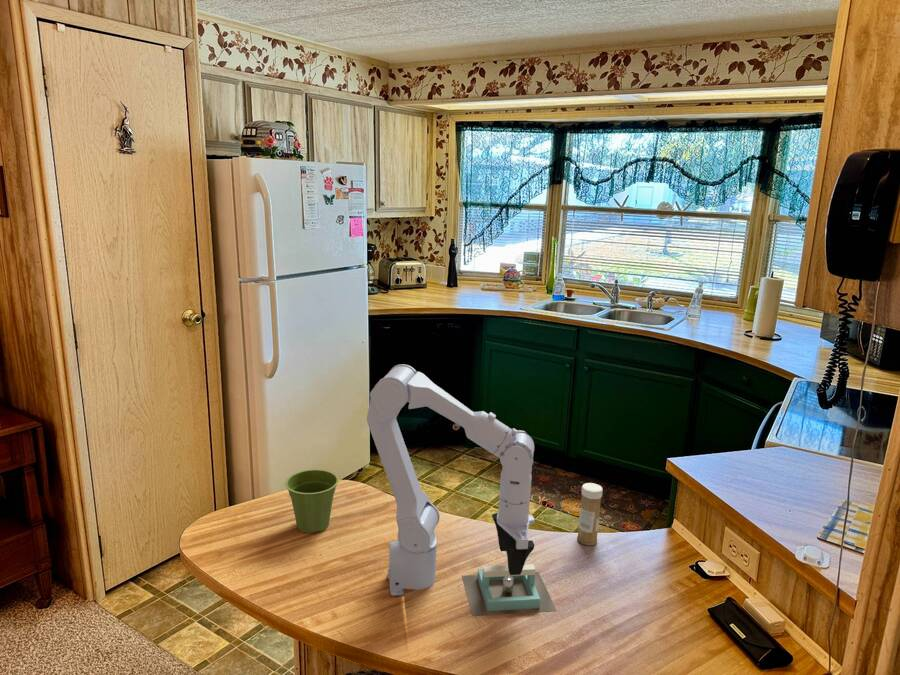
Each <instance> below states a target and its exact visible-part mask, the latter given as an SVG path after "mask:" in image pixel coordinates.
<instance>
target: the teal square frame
mask: <svg viewBox="0 0 900 675" xmlns="http://www.w3.org/2000/svg"><path fill="white" fill-rule="evenodd" d="M535 572H536V566H535V564H531V563H530V564H524V567H523V570H522V572H521V574H520V575H510V573H509V570H508V565H493V566H491V565H490V566H482V568H480V569H479V568H478V569H477V574H476V575H477V579H478V582H479V585H480V588H481V592H482V595H483V598H484V602H485V605H486V608H487V611H500V610H517V609H533V608H540V597H539V594H538V592H537V590H536V588H535V585H534V582H535ZM505 576H511V577H513V579H522V580H523V582H524V585H525V587H526V589H527V592H528V594H529V596H520V597H502V598H492V596H491V593H490V590H489V581H490V580H503V578H504V577H505Z"/></svg>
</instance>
